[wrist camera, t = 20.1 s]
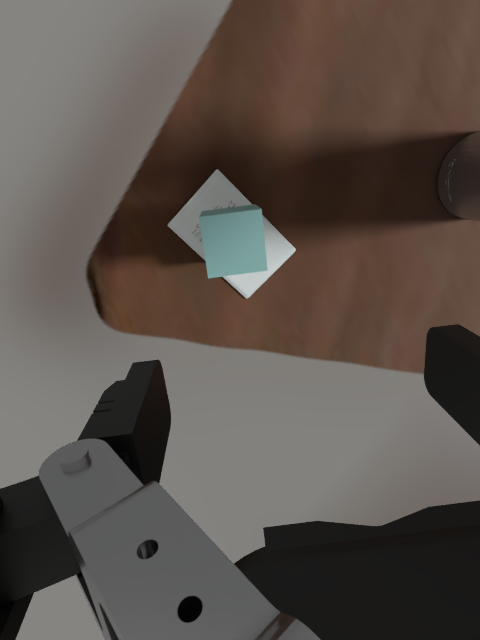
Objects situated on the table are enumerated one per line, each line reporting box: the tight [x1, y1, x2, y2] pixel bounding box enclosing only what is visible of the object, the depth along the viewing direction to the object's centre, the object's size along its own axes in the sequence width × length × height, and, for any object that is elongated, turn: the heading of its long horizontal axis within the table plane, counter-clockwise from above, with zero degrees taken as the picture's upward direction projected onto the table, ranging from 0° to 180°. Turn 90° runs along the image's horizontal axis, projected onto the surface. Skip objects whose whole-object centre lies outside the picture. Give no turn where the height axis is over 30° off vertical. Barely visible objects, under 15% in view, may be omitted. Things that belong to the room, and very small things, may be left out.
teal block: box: [199, 204, 268, 278], centre depth 34 cm, size 5×5×6 cm
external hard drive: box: [167, 169, 296, 299], centre depth 43 cm, size 2×8×12 cm
